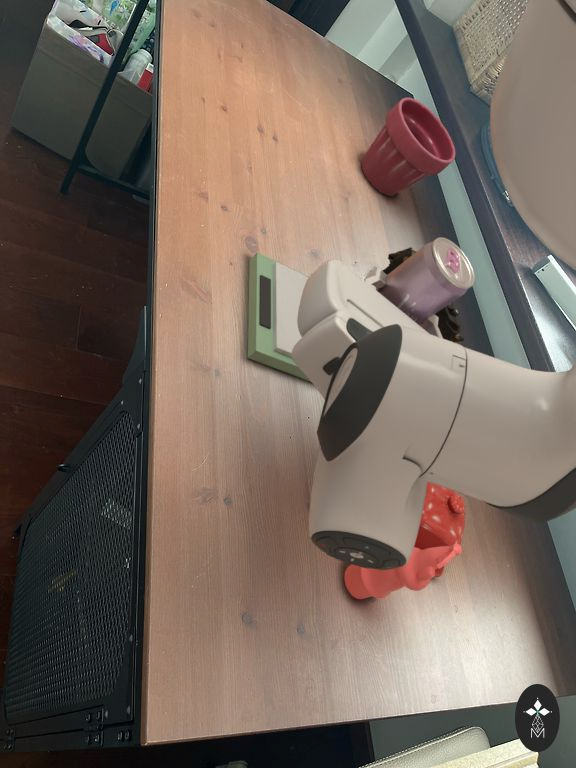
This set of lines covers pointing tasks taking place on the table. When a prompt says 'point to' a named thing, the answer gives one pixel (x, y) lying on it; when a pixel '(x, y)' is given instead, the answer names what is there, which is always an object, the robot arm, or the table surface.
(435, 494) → the butter dish
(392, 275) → the beverage can
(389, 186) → the flower pot
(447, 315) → the film camera
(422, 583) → the figurine
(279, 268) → the scale
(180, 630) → the table surface
